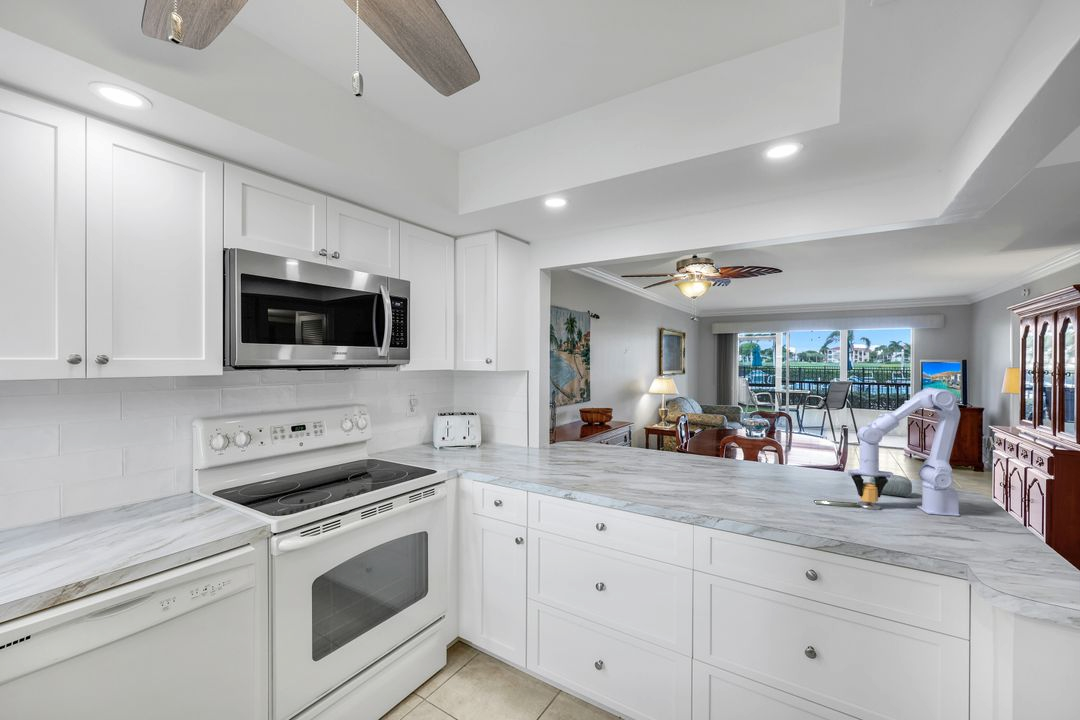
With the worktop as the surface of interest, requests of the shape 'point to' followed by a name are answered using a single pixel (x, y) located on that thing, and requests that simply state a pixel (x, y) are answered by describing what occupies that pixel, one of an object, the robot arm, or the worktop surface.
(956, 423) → the robot arm
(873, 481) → the grey rounded block
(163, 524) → the worktop surface
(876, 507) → the rod
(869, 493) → the wire nut
